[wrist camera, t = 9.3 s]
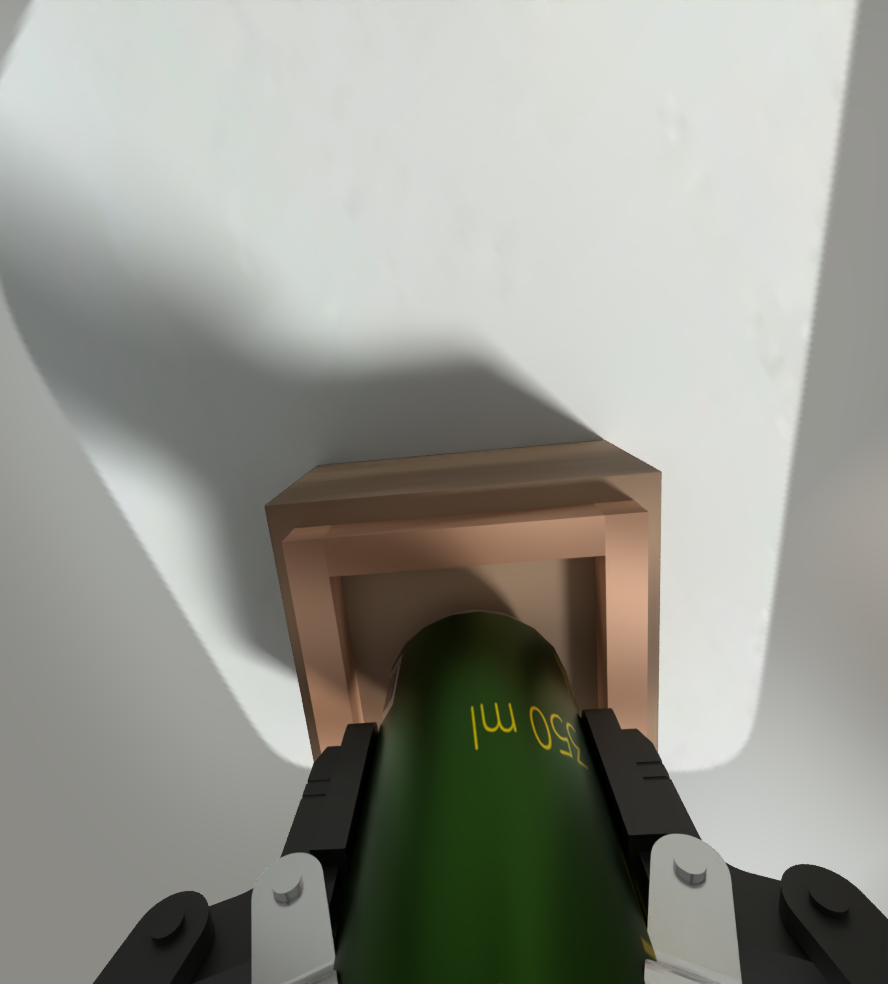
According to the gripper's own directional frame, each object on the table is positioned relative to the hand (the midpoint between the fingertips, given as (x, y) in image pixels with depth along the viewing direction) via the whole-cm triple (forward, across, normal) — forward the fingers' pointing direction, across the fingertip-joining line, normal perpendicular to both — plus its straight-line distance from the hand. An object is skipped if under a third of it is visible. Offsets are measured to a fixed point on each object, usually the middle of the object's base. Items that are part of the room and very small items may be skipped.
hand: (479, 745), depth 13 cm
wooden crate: (+10, 0, 0) cm, 10 cm away
